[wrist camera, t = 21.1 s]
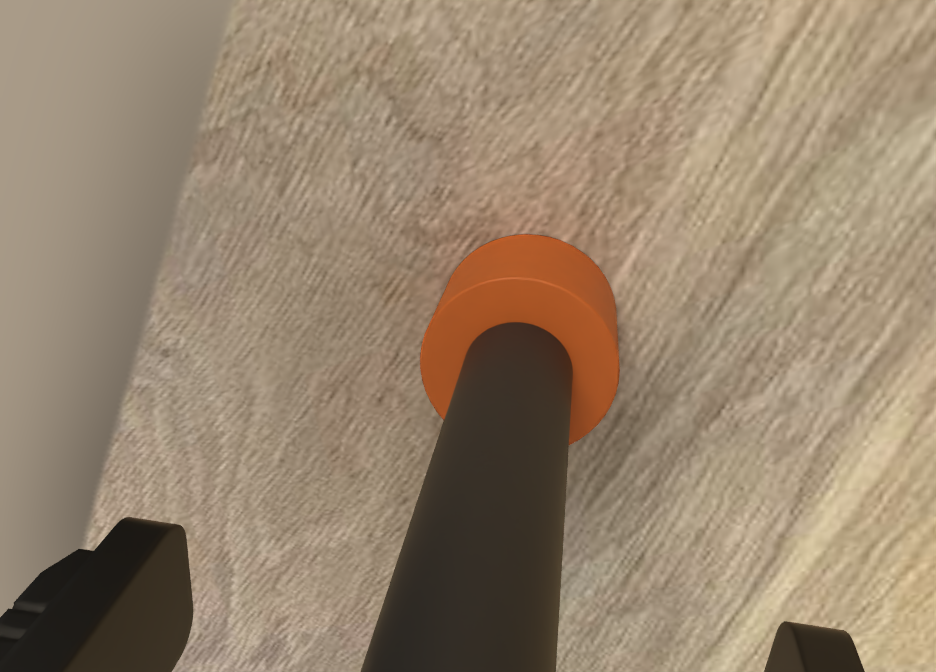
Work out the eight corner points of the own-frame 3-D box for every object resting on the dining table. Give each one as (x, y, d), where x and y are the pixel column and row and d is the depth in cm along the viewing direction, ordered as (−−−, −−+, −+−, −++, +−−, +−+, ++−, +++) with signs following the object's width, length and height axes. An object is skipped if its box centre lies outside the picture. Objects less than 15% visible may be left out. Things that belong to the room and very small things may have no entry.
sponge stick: (413, 273, 20) (120, 772, 8) (575, 205, 19) (534, 676, 7) (486, 414, 22) (337, 1030, 9) (643, 360, 21) (716, 991, 8)
